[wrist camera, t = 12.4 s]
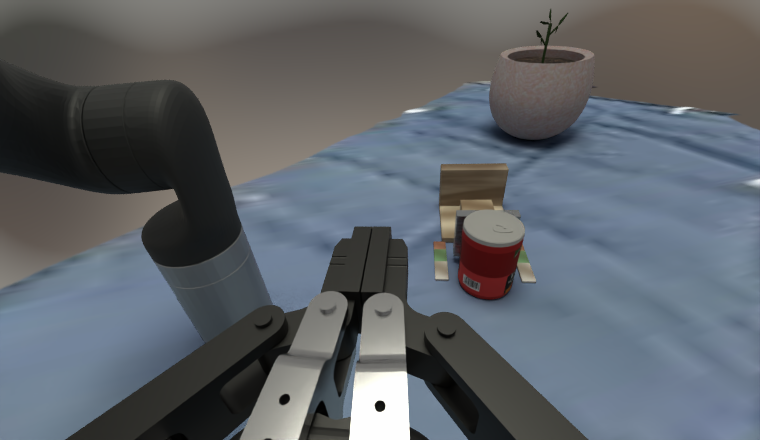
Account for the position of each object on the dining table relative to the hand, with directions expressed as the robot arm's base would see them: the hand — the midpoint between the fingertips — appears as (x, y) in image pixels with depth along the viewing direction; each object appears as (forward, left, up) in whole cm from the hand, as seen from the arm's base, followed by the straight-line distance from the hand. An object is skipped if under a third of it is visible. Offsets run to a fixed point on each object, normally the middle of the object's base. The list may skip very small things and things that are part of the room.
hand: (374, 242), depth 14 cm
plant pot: (+10, +88, -30) cm, 94 cm away
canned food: (+5, +29, -30) cm, 42 cm away
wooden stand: (+2, +39, -30) cm, 49 cm away
